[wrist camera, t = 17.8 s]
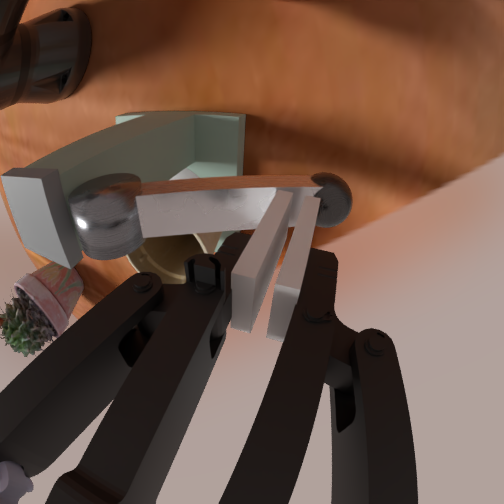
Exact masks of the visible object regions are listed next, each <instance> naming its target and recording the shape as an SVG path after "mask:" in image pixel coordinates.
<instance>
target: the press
mask: <svg viewBox="0 0 504 504" xmlns="http://www.w3.org/2000/svg"><path fill="white" fill-rule="evenodd" d="M245 120H246V114H239V113H225V112H204V111H155V112H134V113H125V114H122V115H119V116H116V125H114V126H111V127H109V128H106V129H104V130H101V131H99V132H96V133H94V134H91V135H89V136H87V137H84V138H82V139H80V140H78V141H75V142H73V143H71V144H69V145H67V146H65V147H63V148H61V149H58V150H56V151H54V152H52V153H51V154H49V155H47V156H45V157H43V158H41V159H39V160H37V161H35V162H34V163H32V164H30V165H28V166H27V167H25V168H12V169H11V170H9V171H8V172H6V173H4V174H3V175H1V179H2V183H3V187H4V190H5V193H6V197H7V200H8V203H9V206H10V209H11V212H12V215H13V218H14V221H15V223H16V226H17V229H18V231H19V234H20V236H21V239H22V241H23V244H24V246H25V248H27V249H29V250H31V251H33V252H35V253H37V254H39V255H41V256H43V257H45V258H47V259H49V260H52V261H54V262H56V263H58V264H60V265H62V266H65V267H67V268H69V269H72V268H73V267H74V266H75V265H76V264H77V263H78V262H79V261H80V260H81V259H82V258H83V255H82V252H81V251H82V250H83V248H82V245H81V242H80V239H79V236H78V233H77V230H76V227H75V223H74V220H73V217H72V213H71V210H70V206H69V202H68V197H69V195H70V194H71V192H72V191H73V190H74V189H76V188H77V187H78V186H80V185H81V184H83V183H85V182H87V181H89V180H91V179H94V178H97V177H100V176H104V175H108V174H114V173H130V174H134V175H137V176H138V177H139V178H140V179H141V183H146V182H155V181H166V180H177V179H191V178H206V177H225V176H243V159H244V139H245ZM235 232H239V233H240V230H234V231H223V232H222V234H221V236H220V239H219V241H218V244H217V246H216V249H215V251H214V252H217V250H218V249H219V248H220V246H221V245H222V243H223V242H224V240H225V239H226V237H228V236H230V235H231V234H233V233H235Z"/></svg>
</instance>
